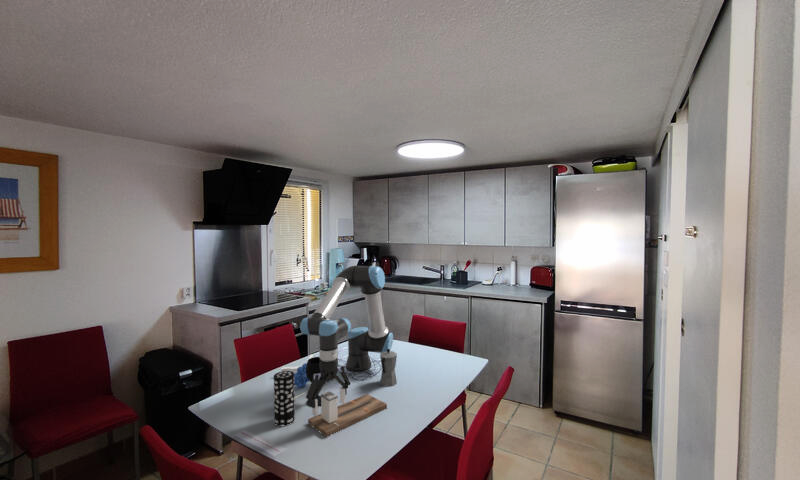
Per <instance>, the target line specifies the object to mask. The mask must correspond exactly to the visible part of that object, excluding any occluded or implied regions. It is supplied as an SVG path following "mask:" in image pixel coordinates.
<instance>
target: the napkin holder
mask: <svg viewBox="0 0 800 480" xmlns="http://www.w3.org/2000/svg"><path fill="white" fill-rule="evenodd" d="M298 367H299V366H284V367H281V372H282V371H292V372H294V374H295V373H298V372H297V369H298ZM301 367H302V365H301Z"/></svg>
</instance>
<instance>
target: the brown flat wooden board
mask: <svg viewBox="0 0 800 480" xmlns="http://www.w3.org/2000/svg"><path fill="white" fill-rule="evenodd" d="M337 406H338V420H336V421H334V422H331V423H328V422H327V421H325V420H324V419H322V415H321V413H319V414H318V416H315V415H314V416H313V417H310V418H308V419H307V423H309V424H310V427H312V426H313V427H314V428H313V427H312V428H313V429H314V430H316V429H317V430H318V431H317V430H316V431H317V432H319V431H320V432H321V433H322V434H323V435H322V434H321V433H320V432H319V433H320V434H321V435H322V436H324V435H325V436H326V437H327V436H329V437H331V436H332V435H331V434H333V435H335V434H337V433H339V432H341V431H343V430H345V429H348V428H349V427H351V426H354V425H355V424H357V423H359V422H361V421H364V420H366V419H367V418H369V417H371V416H373V415H377V414H378V413H380V412H383V411H385V410H386V409H387V408H388V404H387V403H386V402H383V401H382V400H380V399H378V398H376V397H375V396H372V395H370V394H368V393H366V394H364V395H360V397H357V398H355V399H352V400H350V401H347V402H345V404H343V403H341V405H337ZM309 424H308V425H309ZM342 429H343V430H342ZM340 430H341V431H340ZM338 431H339V432H338ZM336 432H337V433H336ZM334 433H335V434H334ZM330 435H331V436H330ZM325 436H324V437H325ZM326 437H325V438H326ZM327 438H328V437H327Z"/></svg>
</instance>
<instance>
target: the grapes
mask: <svg viewBox="0 0 800 480" xmlns="http://www.w3.org/2000/svg"><path fill="white" fill-rule="evenodd" d="M306 365H307V362H305V363H303V364H302V365H301V366H302V367H301V366H300V365H299V366H297V367H298V369H297V372H298V373H295V374H294V386H295V387H296V389H300V388H301V387H302V388H304V387H306V386H307V384H308V383H309V382H310V381H309V380H308V378H307V376H306Z"/></svg>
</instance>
